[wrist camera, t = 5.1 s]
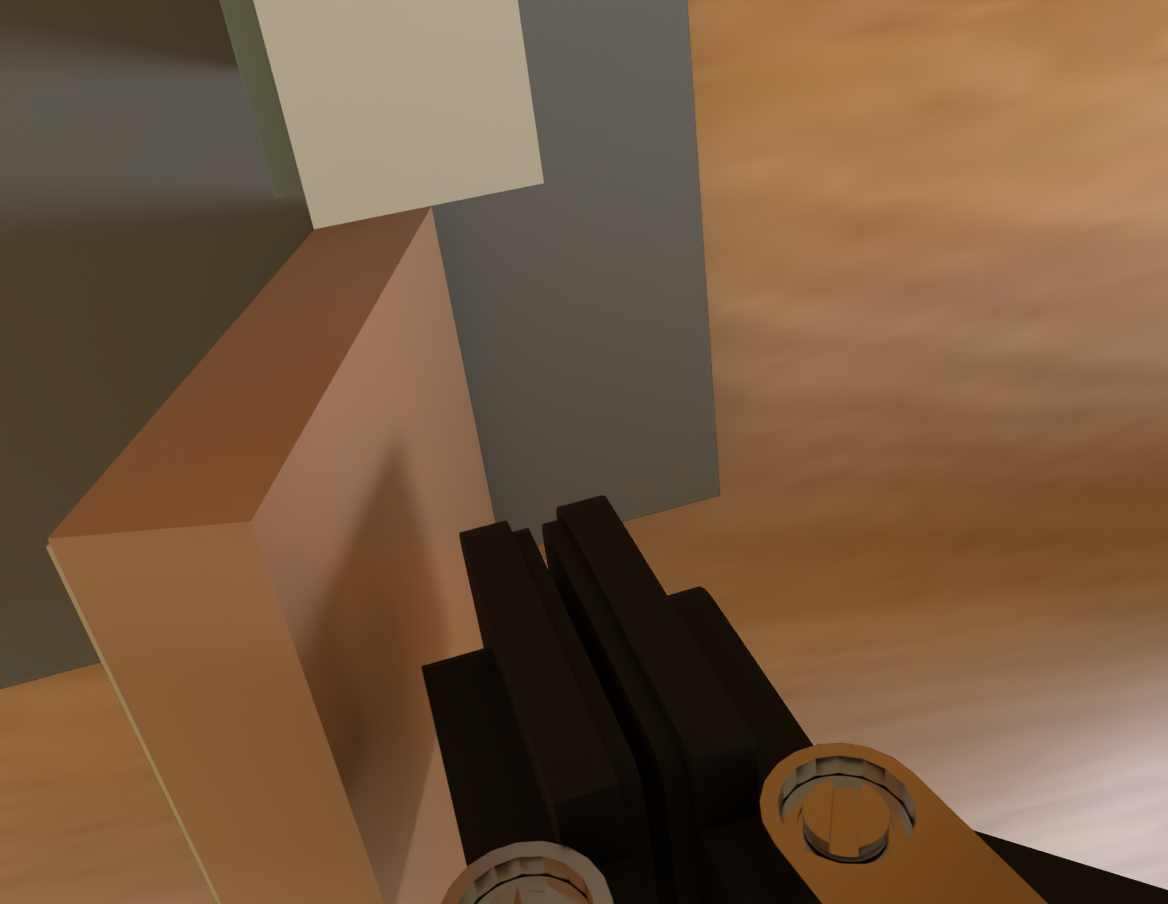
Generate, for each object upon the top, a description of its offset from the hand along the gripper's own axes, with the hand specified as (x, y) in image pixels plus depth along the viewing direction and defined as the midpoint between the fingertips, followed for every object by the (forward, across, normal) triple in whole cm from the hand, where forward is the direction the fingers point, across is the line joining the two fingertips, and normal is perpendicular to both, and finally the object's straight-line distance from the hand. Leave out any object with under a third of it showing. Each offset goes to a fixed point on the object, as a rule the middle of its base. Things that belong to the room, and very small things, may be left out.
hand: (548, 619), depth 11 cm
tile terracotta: (+6, +1, 0) cm, 6 cm away
